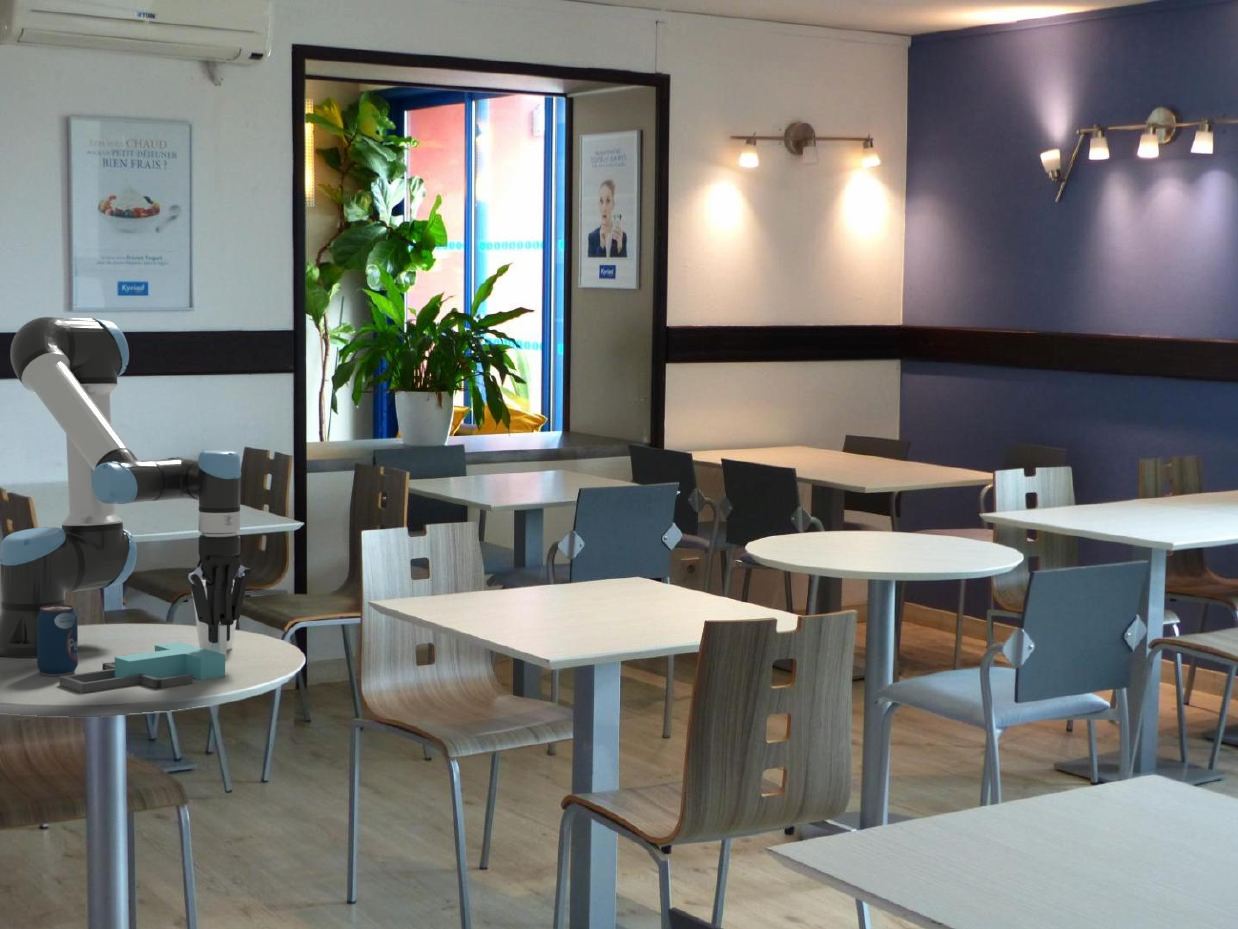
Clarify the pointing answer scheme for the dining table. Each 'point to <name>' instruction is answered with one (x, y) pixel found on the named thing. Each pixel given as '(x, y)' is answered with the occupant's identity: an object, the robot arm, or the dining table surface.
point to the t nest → (117, 680)
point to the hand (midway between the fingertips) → (219, 659)
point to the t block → (173, 662)
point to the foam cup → (203, 629)
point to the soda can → (57, 640)
